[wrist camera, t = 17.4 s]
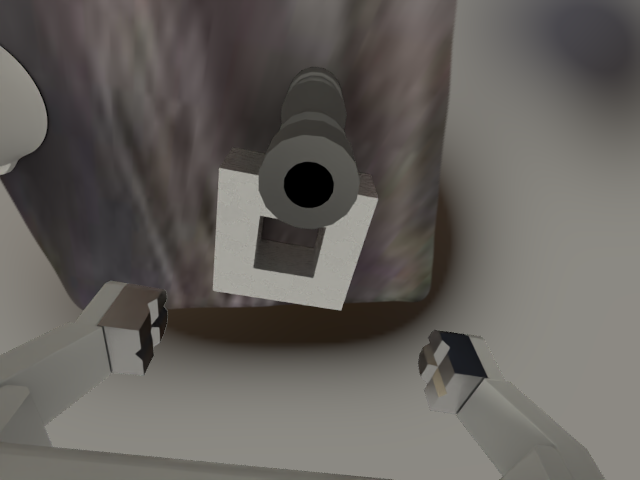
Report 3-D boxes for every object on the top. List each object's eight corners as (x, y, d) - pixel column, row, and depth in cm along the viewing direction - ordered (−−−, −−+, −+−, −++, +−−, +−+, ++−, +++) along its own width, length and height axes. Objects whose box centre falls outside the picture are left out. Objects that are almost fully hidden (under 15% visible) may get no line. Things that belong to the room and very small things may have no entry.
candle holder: (278, 84, 40) (230, 163, 19) (326, 55, 38) (333, 106, 17) (305, 132, 42) (289, 248, 22) (350, 107, 41) (381, 206, 20)
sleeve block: (224, 260, 53) (212, 290, 47) (232, 147, 44) (219, 167, 38) (338, 278, 55) (341, 310, 49) (370, 174, 45) (378, 198, 40)
